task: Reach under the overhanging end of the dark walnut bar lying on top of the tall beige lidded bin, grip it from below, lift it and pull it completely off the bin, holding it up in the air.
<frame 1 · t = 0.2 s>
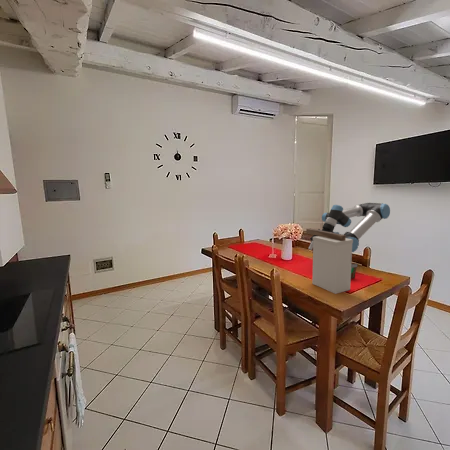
hand: (316, 251, 188), 15 cm above the table, tool tilted 35°, fingers open, 13 cm apart
beige lidded bin: (330, 286, 162), on the table
food container: (345, 277, 177), on the table
walnut bar: (324, 236, 162), point 30 cm above the table, touching beige lidded bin
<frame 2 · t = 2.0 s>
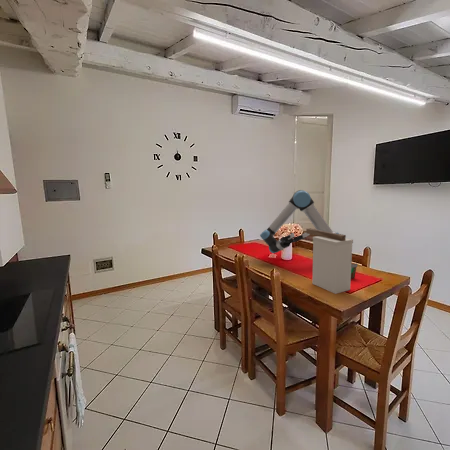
hand: (301, 233, 182), 28 cm above the table, tool pointing upward, fingers open, 13 cm apart
nothing on the table moved.
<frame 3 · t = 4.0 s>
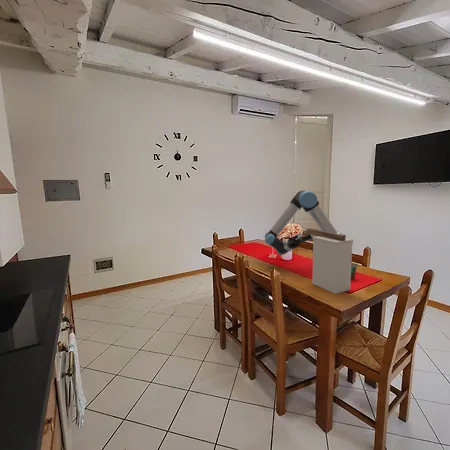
hand: (309, 233, 173), 30 cm above the table, tool pointing upward, fingers open, 13 cm apart
nothing on the table moved.
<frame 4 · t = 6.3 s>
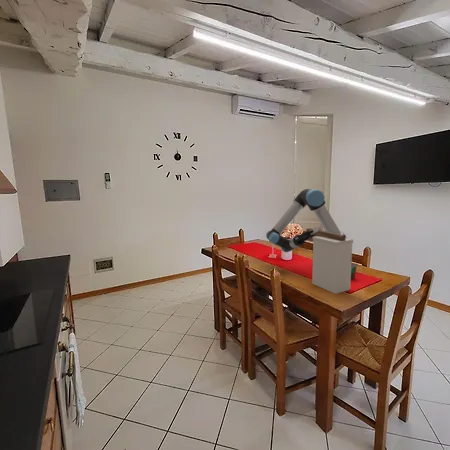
hand: (319, 228, 165), 34 cm above the table, tool pointing upward, fingers closed on walnut bar, 3 cm apart
walnut bar: (324, 236, 162), point 30 cm above the table, touching gripper
everything else where it was.
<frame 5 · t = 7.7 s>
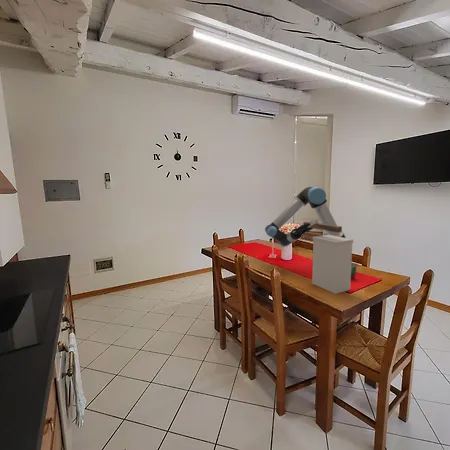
hand: (316, 221, 167), 39 cm above the table, tool pointing upward, fingers closed on walnut bar, 3 cm apart
walnut bar: (321, 229, 164), point 34 cm above the table, touching gripper
everything else where it was.
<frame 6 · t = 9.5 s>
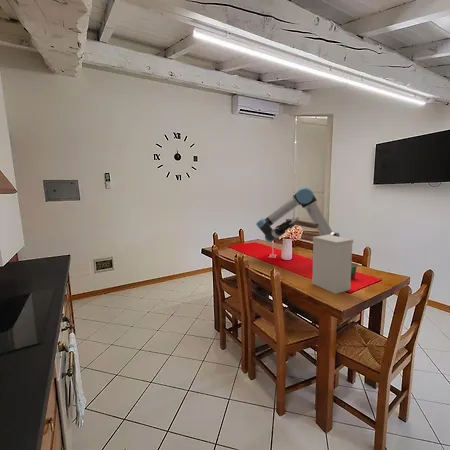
hand: (296, 218, 183), 38 cm above the table, tool pointing upward, fingers closed on walnut bar, 3 cm apart
walnut bar: (301, 225, 180), point 34 cm above the table, touching gripper
everything else where it was.
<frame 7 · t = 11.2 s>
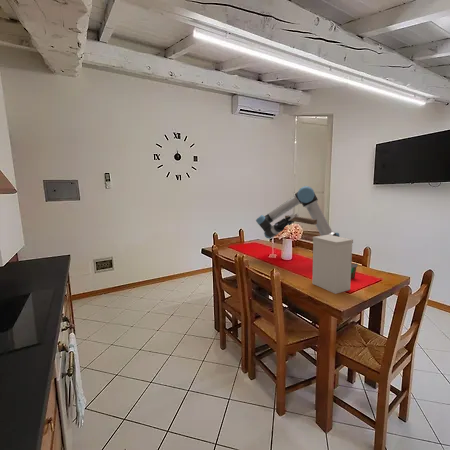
hand: (295, 215, 184), 41 cm above the table, tool pointing upward, fingers closed on walnut bar, 3 cm apart
walnut bar: (299, 221, 181), point 36 cm above the table, touching gripper
everything else where it was.
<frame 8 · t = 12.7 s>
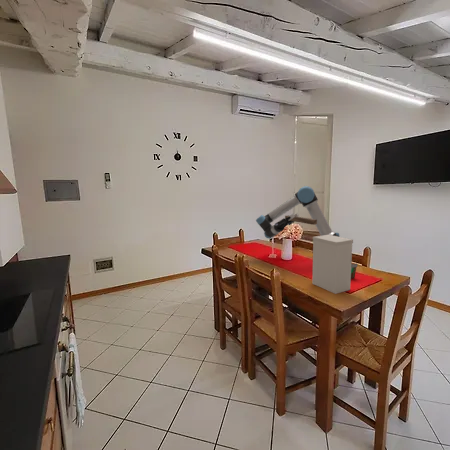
hand: (295, 215, 184), 41 cm above the table, tool pointing upward, fingers closed on walnut bar, 3 cm apart
walnut bar: (299, 221, 181), point 36 cm above the table, touching gripper
everything else where it was.
at the end: the gripper is holding walnut bar; walnut bar touching gripper; walnut bar inside the target area (0.5 cm from its centre), point 36.5 cm above the table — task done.
